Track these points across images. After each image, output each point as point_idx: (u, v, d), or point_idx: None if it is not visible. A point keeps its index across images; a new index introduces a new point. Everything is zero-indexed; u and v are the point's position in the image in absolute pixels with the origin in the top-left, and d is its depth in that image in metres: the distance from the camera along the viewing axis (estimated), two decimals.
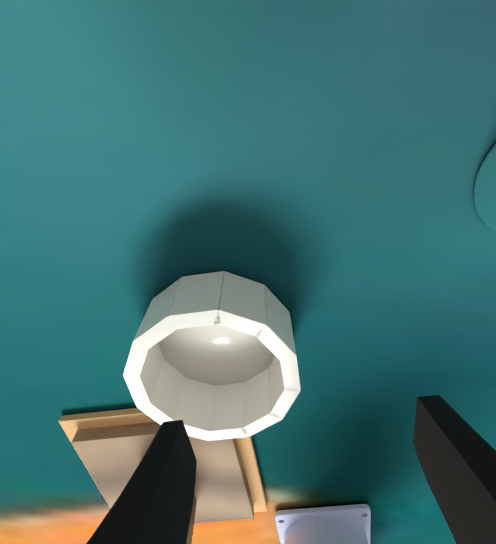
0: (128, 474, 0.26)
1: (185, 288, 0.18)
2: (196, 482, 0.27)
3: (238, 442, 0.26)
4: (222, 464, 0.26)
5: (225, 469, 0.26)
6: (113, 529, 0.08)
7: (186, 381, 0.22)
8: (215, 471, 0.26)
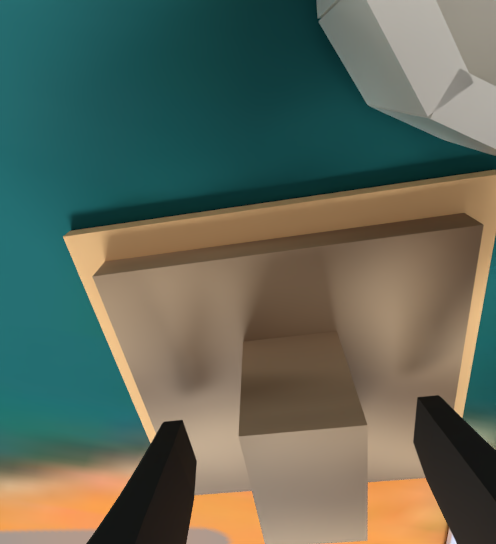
0: (212, 369, 0.12)
1: None
2: None
3: None
4: (427, 342, 0.11)
5: (429, 356, 0.12)
6: (112, 530, 0.08)
7: None
8: (403, 362, 0.12)
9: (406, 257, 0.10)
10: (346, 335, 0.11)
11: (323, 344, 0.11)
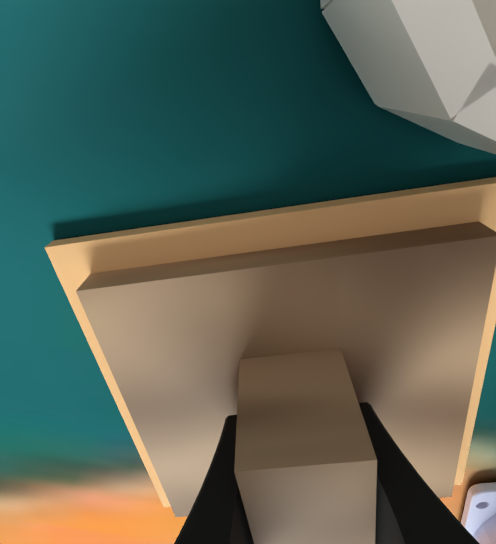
0: (207, 388, 0.11)
1: None
2: None
3: None
4: (437, 359, 0.11)
5: (439, 373, 0.11)
6: (203, 523, 0.08)
7: None
8: (412, 381, 0.11)
9: (417, 270, 0.09)
10: (351, 352, 0.11)
11: (326, 363, 0.10)
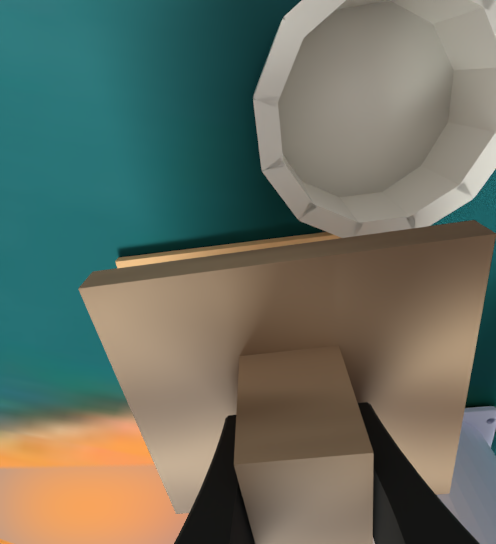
0: (207, 385, 0.11)
1: None
2: None
3: None
4: (434, 356, 0.11)
5: (436, 370, 0.11)
6: (203, 523, 0.08)
7: (305, 183, 0.16)
8: (409, 377, 0.11)
9: (413, 268, 0.09)
10: (349, 349, 0.11)
11: (324, 360, 0.10)
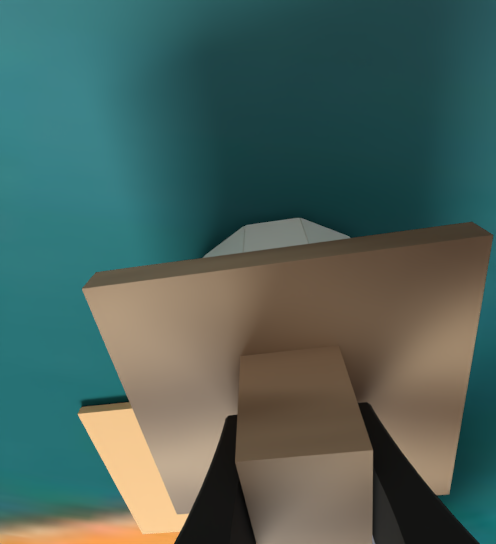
0: (208, 384, 0.12)
1: (254, 236, 0.14)
2: None
3: None
4: (433, 356, 0.11)
5: (435, 370, 0.11)
6: (203, 523, 0.08)
7: None
8: (408, 378, 0.11)
9: (412, 269, 0.10)
10: (348, 349, 0.11)
11: (324, 359, 0.10)
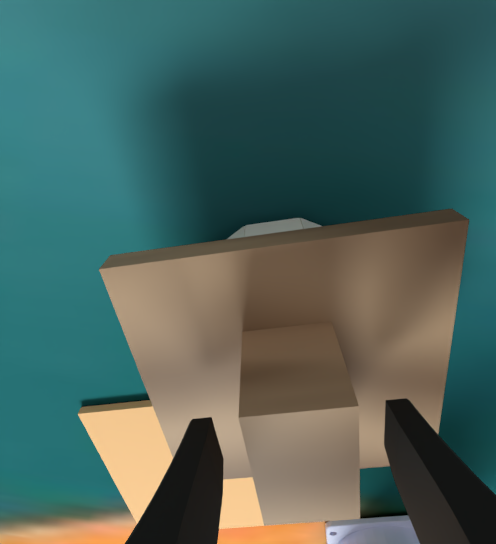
0: (212, 358, 0.13)
1: None
2: None
3: None
4: (417, 331, 0.12)
5: (419, 345, 0.12)
6: (152, 526, 0.08)
7: None
8: (395, 352, 0.12)
9: (396, 250, 0.11)
10: (340, 325, 0.12)
11: (318, 333, 0.11)
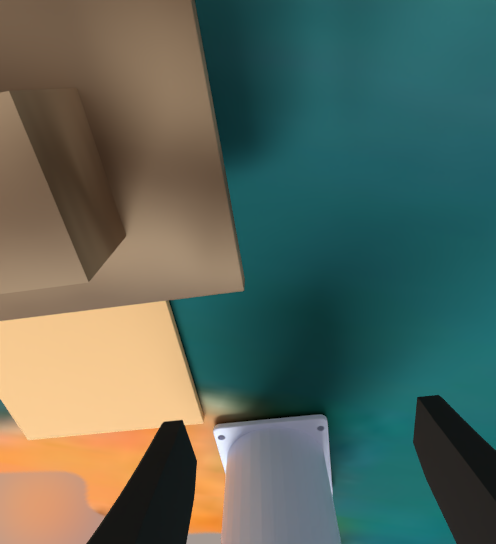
0: None
1: None
2: (119, 171, 0.12)
3: (155, 319, 0.21)
4: (171, 102, 0.11)
5: (179, 121, 0.12)
6: (113, 529, 0.08)
7: None
8: (157, 132, 0.12)
9: None
10: (89, 94, 0.11)
11: None
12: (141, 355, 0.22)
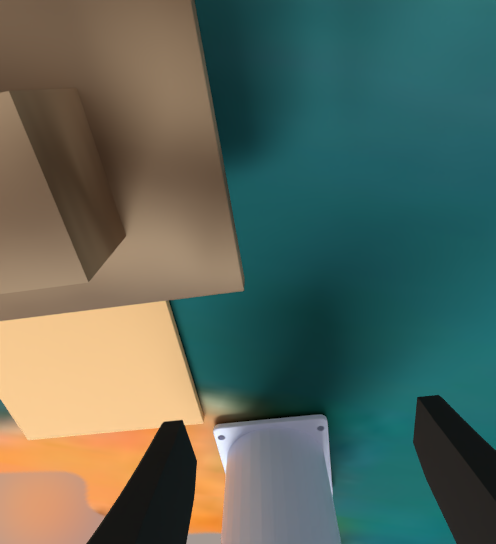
0: None
1: None
2: (119, 171, 0.12)
3: (155, 319, 0.21)
4: (171, 102, 0.11)
5: (179, 121, 0.12)
6: (112, 530, 0.08)
7: None
8: (157, 132, 0.12)
9: None
10: (88, 94, 0.11)
11: None
12: (141, 355, 0.22)
